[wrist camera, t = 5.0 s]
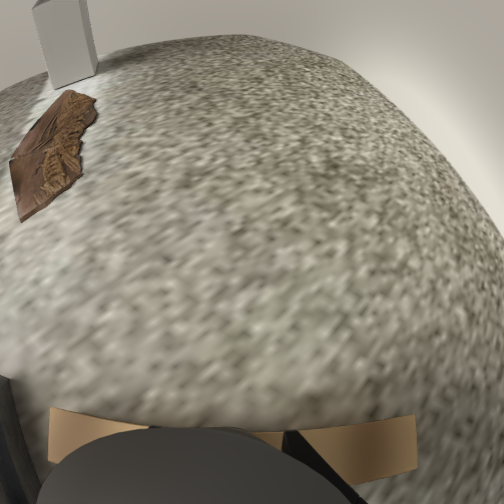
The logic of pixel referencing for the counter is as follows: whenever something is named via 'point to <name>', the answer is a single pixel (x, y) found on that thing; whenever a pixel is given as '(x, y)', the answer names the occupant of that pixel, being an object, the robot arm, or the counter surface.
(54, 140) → the wooden fragment
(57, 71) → the milk carton
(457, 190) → the counter surface
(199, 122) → the counter surface
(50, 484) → the tan grey t-shaped tool
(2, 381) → the ridge stand
